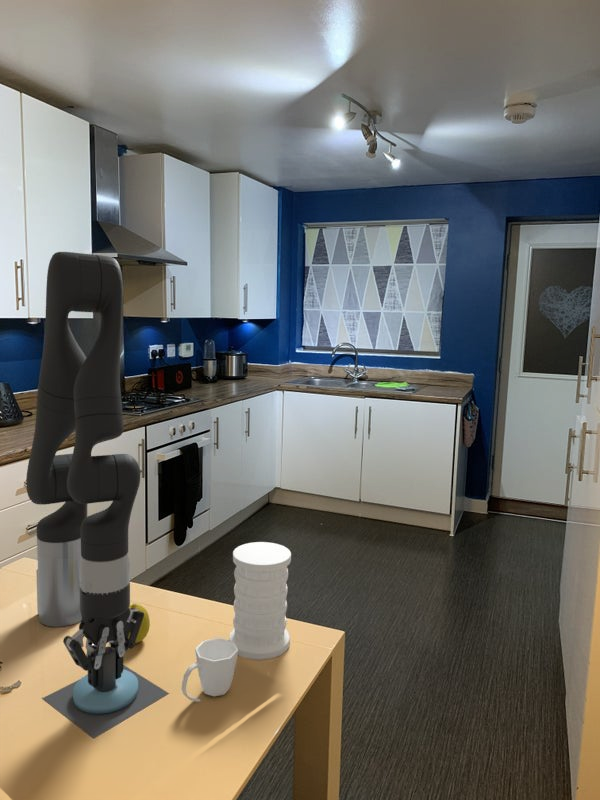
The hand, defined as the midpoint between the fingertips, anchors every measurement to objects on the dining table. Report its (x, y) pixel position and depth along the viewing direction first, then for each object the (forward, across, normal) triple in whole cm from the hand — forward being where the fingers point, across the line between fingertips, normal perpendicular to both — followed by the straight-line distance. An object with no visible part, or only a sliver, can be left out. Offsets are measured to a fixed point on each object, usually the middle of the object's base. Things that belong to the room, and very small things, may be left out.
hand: (105, 681), depth 99 cm
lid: (+2, 0, 0) cm, 2 cm away
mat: (+3, 0, 0) cm, 3 cm away
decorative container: (+3, -29, +7) cm, 30 cm away
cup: (+3, -11, +12) cm, 17 cm away
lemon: (+3, -13, -10) cm, 17 cm away
